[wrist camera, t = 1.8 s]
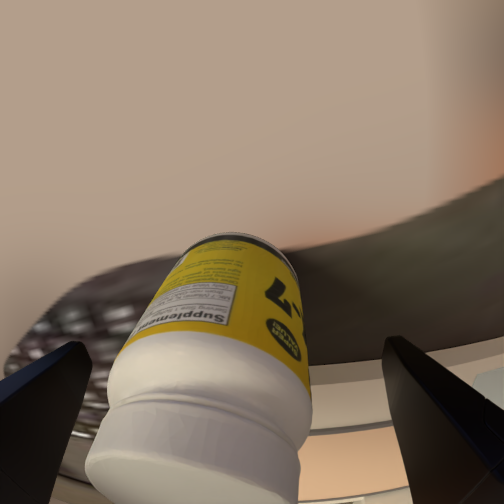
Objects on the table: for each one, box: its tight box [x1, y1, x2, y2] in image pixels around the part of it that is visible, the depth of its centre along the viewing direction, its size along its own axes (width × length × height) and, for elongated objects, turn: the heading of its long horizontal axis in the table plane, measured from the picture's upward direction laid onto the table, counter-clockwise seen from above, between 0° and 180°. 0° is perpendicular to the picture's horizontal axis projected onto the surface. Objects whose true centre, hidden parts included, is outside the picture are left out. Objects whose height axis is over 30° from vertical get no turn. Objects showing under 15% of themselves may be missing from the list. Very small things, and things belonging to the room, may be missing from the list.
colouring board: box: [298, 336, 504, 504], centre depth 15 cm, size 16×14×1 cm
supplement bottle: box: [85, 232, 313, 504], centre depth 8 cm, size 5×5×8 cm
